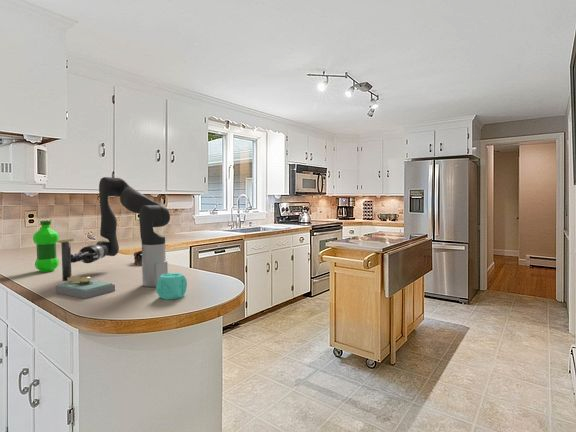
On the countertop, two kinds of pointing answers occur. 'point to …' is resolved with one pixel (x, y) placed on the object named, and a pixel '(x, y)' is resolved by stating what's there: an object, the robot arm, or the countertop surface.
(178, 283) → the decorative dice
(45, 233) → the plastic bottle
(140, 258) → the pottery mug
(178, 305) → the countertop surface
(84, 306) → the countertop surface
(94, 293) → the plate
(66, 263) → the t key
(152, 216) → the robot arm
